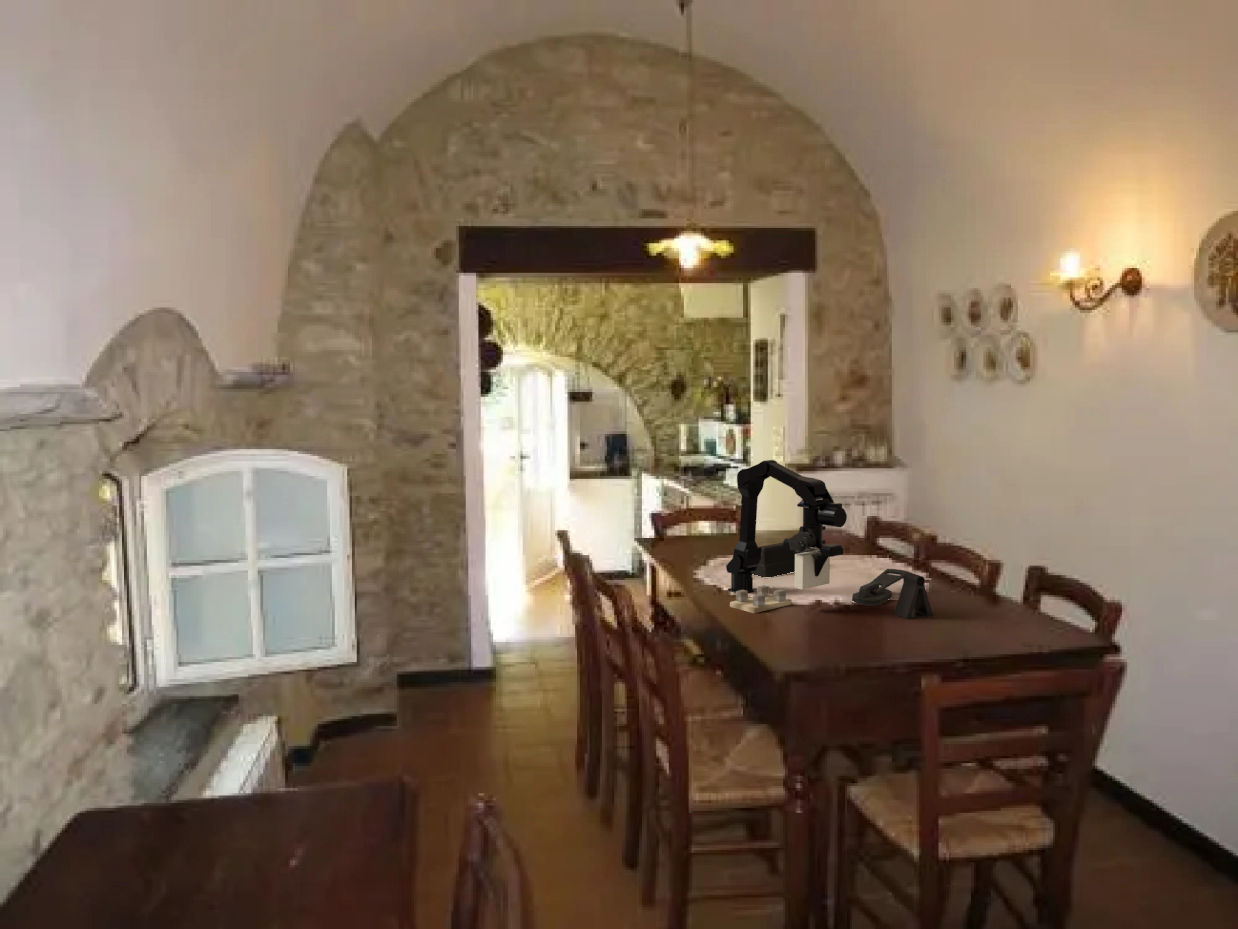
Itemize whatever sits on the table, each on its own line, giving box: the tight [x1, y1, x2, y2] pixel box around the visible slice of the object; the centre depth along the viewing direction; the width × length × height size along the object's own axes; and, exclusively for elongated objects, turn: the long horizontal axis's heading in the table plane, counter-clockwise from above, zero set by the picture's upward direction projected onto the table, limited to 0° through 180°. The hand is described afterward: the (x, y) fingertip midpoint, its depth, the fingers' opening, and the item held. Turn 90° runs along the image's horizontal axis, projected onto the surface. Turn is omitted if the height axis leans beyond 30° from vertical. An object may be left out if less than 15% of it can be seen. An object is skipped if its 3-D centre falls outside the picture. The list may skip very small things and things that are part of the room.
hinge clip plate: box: [729, 584, 792, 614], centre depth 293 cm, size 10×16×4 cm, turn 128°
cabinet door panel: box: [794, 550, 831, 590], centre depth 288 cm, size 3×12×10 cm, turn 128°
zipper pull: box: [851, 568, 910, 607], centre depth 302 cm, size 9×7×25 cm
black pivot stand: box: [893, 571, 934, 620], centre depth 280 cm, size 9×6×12 cm, turn 109°
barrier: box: [751, 542, 796, 578], centre depth 339 cm, size 24×9×10 cm, turn 127°
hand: (812, 575), depth 289 cm, fingers closed on cabinet door panel, 3 cm apart
